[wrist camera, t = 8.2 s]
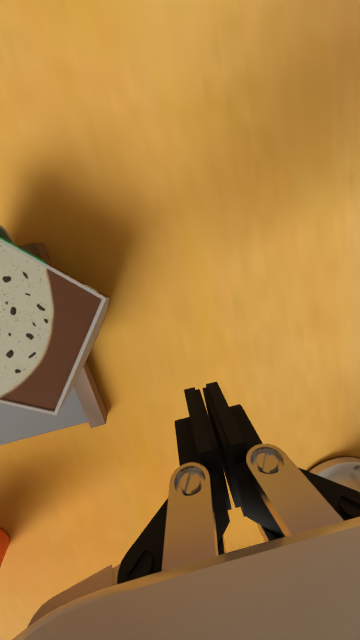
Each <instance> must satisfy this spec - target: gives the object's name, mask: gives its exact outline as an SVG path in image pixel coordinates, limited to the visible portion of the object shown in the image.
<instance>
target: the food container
mask: <svg viewBox="0 0 360 640" xmlns="http://www.w3.org/2000/svg"><path fill="white" fill-rule="evenodd" d="M108 304H109V297H108V296H106V295H104V294H102V293H101V292H99V291H97V290H95V289H93V288H92V287H90V286H88V285H86V284H84V283H83V282H81V281H79V280H77V279H75V278H74V277H72V276H70V275H68V274H66V273H65V272H63V271H61V270H59V269H57V268H56V267H54V266H52V265H50V264H49V263H47V262H45V261H43V260H41V259H40V258H38V257H36V256H34V255H32V254H31V253H29V252H27V251H25V250H23V249H22V248H20V247H18V246H16V245H14V242H13V240H12V238H11V236H10V235H9V234H8V232H7V231H6V230H5V229H4V228H3V227H2V226H0V403H3V404H7V405H12V406H16V407H20V408H25V409H29V410H33V411H38V412H42V413H47V414H51V415H55V416H56V415H57V414H58V412H59V411H60V409H61V407H62V406H63V404H64V402H65V400H66V399H67V397H68V395H69V393H70V391H71V389H72V388H73V386H74V384H75V382H76V380H77V378H78V376H79V374H80V372H81V370H82V368H83V366H84V364H85V362H86V360H87V358H88V355H89V353H90V351H91V349H92V347H93V344H94V342H95V340H96V338H97V335H98V333H99V330H100V328H101V325H102V323H103V320H104V317H105V315H106V312H107V308H108Z"/></svg>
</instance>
